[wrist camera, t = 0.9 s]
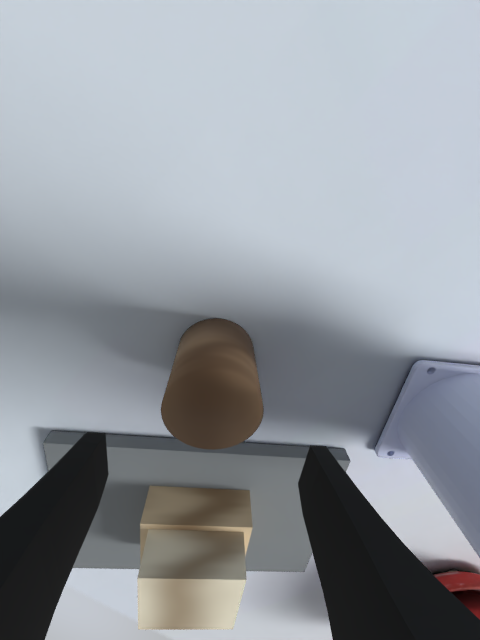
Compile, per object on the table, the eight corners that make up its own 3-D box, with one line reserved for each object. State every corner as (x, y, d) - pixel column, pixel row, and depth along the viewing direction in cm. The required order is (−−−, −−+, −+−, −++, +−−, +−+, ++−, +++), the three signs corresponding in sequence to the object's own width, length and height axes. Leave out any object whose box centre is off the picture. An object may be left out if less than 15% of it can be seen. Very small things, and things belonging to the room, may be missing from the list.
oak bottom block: (249, 490, 21) (252, 527, 19) (236, 547, 24) (237, 585, 21) (149, 485, 20) (140, 523, 18) (148, 544, 23) (140, 584, 21)
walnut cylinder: (259, 322, 16) (271, 375, 12) (247, 385, 18) (254, 452, 14) (180, 314, 16) (162, 365, 11) (176, 379, 18) (159, 446, 13)
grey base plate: (345, 449, 21) (350, 461, 20) (301, 558, 27) (304, 572, 26) (51, 430, 19) (43, 443, 18) (73, 553, 25) (67, 567, 24)
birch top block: (243, 532, 19) (246, 579, 16) (232, 581, 21) (232, 629, 19) (148, 528, 18) (137, 578, 16) (147, 580, 21) (138, 629, 18)
